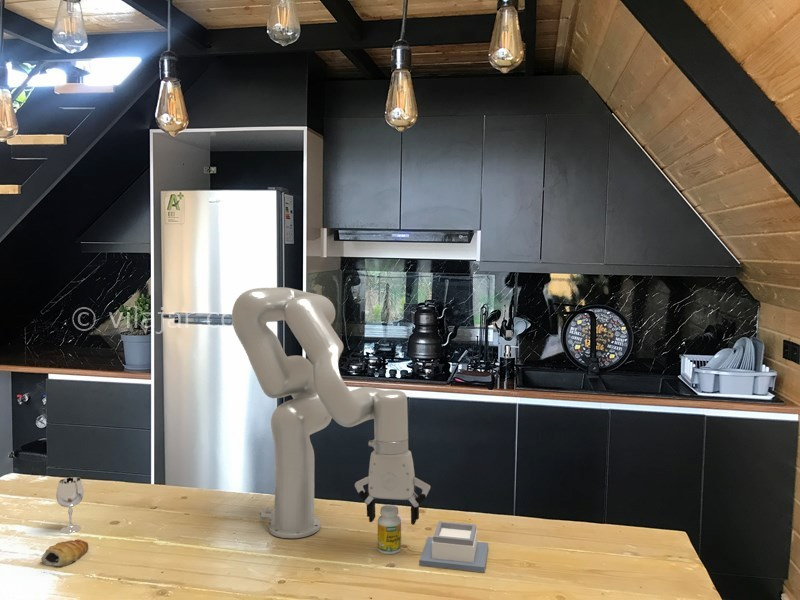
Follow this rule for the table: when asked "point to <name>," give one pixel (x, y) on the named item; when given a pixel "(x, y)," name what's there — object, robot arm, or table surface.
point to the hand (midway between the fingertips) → (393, 521)
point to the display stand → (455, 548)
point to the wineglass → (70, 499)
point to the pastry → (65, 553)
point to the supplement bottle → (389, 530)
